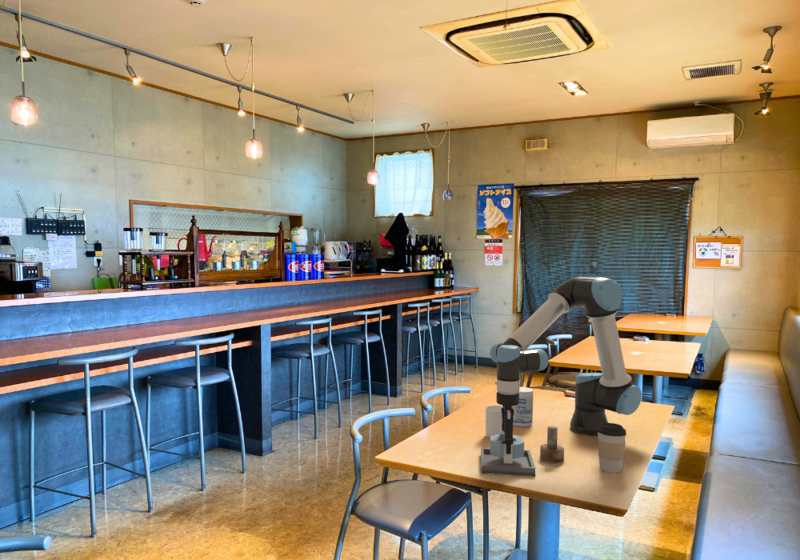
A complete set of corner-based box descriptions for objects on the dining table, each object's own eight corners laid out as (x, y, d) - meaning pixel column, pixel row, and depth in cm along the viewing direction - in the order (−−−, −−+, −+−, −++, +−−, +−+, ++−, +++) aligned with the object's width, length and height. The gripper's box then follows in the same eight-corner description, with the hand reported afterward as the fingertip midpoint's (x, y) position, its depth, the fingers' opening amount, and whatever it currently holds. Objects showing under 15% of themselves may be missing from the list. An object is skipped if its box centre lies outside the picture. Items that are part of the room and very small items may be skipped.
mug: (501, 442, 212) (501, 412, 211) (481, 437, 217) (481, 408, 217) (516, 434, 221) (516, 406, 221) (496, 429, 227) (496, 402, 226)
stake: (561, 455, 198) (562, 424, 197) (565, 463, 190) (566, 431, 189) (538, 454, 199) (539, 423, 198) (541, 462, 191) (542, 430, 190)
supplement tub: (517, 428, 229) (518, 392, 228) (504, 422, 237) (505, 387, 237) (537, 425, 232) (538, 390, 232) (523, 419, 241) (524, 385, 241)
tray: (529, 457, 196) (529, 450, 196) (535, 476, 179) (535, 468, 179) (480, 454, 198) (480, 447, 198) (481, 473, 181) (481, 465, 181)
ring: (521, 447, 193) (522, 435, 193) (525, 459, 182) (525, 445, 182) (489, 446, 194) (489, 433, 194) (490, 457, 183) (491, 443, 183)
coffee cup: (591, 464, 189) (592, 420, 189) (617, 463, 190) (618, 420, 189) (603, 475, 180) (604, 429, 180) (630, 474, 181) (631, 428, 180)
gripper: (494, 383, 199) (493, 444, 200) (498, 400, 176) (497, 469, 177) (516, 384, 199) (515, 445, 199) (522, 401, 175) (521, 470, 176)
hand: (506, 456), depth 188 cm, fingers closed on ring, 11 cm apart
